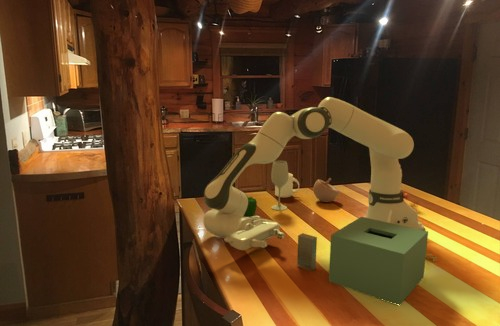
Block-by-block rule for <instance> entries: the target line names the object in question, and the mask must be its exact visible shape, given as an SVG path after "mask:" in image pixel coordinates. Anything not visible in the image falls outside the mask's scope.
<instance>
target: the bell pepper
mask: <svg viewBox="0 0 500 326" xmlns="http://www.w3.org/2000/svg"><path fill="white" fill-rule="evenodd" d="M247 197H248V207H247V210H246V212H245V214H244V216H243V217H251V216H256V215H255V214H256V210H257V204H258V203H257V200H256V198H254V197H253V196H247Z"/></svg>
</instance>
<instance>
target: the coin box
mask: <svg viewBox="0 0 500 326" xmlns="http://www.w3.org/2000/svg"><path fill="white" fill-rule="evenodd" d="M428 238H429V231H427V230H419V229H414V228H410V227H406V226H401V225H397V224H392V223H388V222H383V221H379V220H374V219H370V218H366V216H365V217H364V216H360V217H358V218H356V219H355V220H353V221H352V222H350V223H348V224H347V225H345V226H343V227H342V228H340V229H338V230H336V231H334V232H333V233H332V234H331V235H330V245H329V246H330V249H329V265H328V266H329V270H328V271H329V272H328V282H330V283H333V284H335V285H338V286H341V287H344V288H347V289H349V290H352V291H355V292H358V293H360V294H361V293H362V294H364V295H366V294H367V296H369V295H370V297H372V296H374V297H373V298H375V297H376V298H375V299H378V298H379V299H378V300H381V299H383V300H382V301H384V300H385V301H384V302H387V301H389V302H392V303H396V304H399V305H400V304H401V303H402V302H403V303H404V302H405V300H406V299H407V298H408V297H409V296H410V294H411V293H412V292H413V291H414V289H415V288H416V287H417V286H418V285H419V284H420V282H422V280H423V279H424V277H425V267H426V259H427V257H426V254H427V246H428ZM422 278H423V279H422ZM421 279H422V280H421ZM417 284H418V285H417ZM416 285H417V286H416ZM412 290H413V291H412ZM411 291H412V292H411ZM407 296H408V297H407ZM406 297H407V298H406ZM405 298H406V299H405ZM404 299H405V300H404ZM389 302H388V303H389ZM392 303H391V304H392ZM403 303H402V304H403ZM402 304H401V305H402ZM401 305H400V306H401Z"/></svg>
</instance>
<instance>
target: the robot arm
mask: <svg viewBox="0 0 500 326" xmlns="http://www.w3.org/2000/svg"><path fill="white" fill-rule="evenodd" d="M328 128H329V129H332V130H334V131H336V132H338V133H339V134H342V135H343V136H345V137H346V138H347V137H348V138H350V139H352V140H353V141H354V142H357V143H359V144H361V145H363V146H365V147H368V150H369V157H370V159H369V160H370V167H371V168H370V169H371V172H370V173H371V175H370V188H369V190H368V196H367V198H368V202H367V203H368V207H367V212H366V216H365V218H370V219H374V220H379V221H383V222H388V223H392V224H397V225H401V226H406V227H410V228H414V229H419V230H423V231H425V230H424V229H425V226H424V224H423V223H422V222H421V221H419V215H418V212H417V211H416V209H414V207H412V206H411V205H410V204H408V203H407V202H406V201H405V200H409V199H410V196H411V195H410V194H408V193H406V192H405V193H404V192H402V191H401V189H402V188H401V186H402V179H401V176H402V177H403V171H402V172H401V170H402V168H401V167H400V166H399V164H400V162H399V159H405V158H407V157H409V156H410V155H411V153H412V152H413V150H414V146H415V144H414V140H413V137H412V136H411V135H410V134H409V133H408V132H406V131H405V130H403V129H402V128H399V127H397V126H395V125H393V124H391V123H389V122H387V121H385V120H383V119H380V118H379V117H377V116H374V115H372V114H370V113H368V112H367V111H364V110H361V108H358V107H357V106H355V105H353V104H351V103H349V102H346V101H344V100H341V99H339V98H335V97H331V96H327V97H325V98H324V99H322V100H321V101H320V102H319V104H318V105H317V106H311V107H307V108H302V109H300V110H298V111H296V112H294V113H293V114H290V115H289V114H287V113H286V112H282V111H276V112H273V113H272V114H271V115H270V116H269V117H268V118H267V119H266V121H265V122H264V123H263V124H262V126H261V127H260V129H259V130H258V132H257V133H256V135H255V136H254V137H253V138H252V140H250V141H249V142H247V143H245V144H243V145H241V146H240V147H239V149H238V150H237V151H236V152H235V153H234V155H233V156H232V157H231V158H230V160H229V161H227V163H226V164H225V165H224V166H223V168H222V169H221V170H220V171H219V173H218V174H217V175H216V176H215V177H214V178H213V179H211V180H210V182H209V183H207V185H206V186H205V188H204V190H203V200H204V204H206V206H207V207H208V208H211V209H209V210H208V211H206V212H205V214H204V216H203V226H204V229H206V230H207V232H208V233H210V234H212V235H214V236H216V237H219V238H222V239H223V240H224V242H226V243H228V244H229V246H230V247H233V248H234V249H237V250H239V251H246V250H249V249H251V248H262V249H265V248H266V247H268V242H267V240H268V239H271V238H273V237H276V238H277V239H280V240H282V239H284V238H285V233H284V232H282V231H280V228H281V227H280V226H281V225H280V224H279V223H278V222H277V221H274V220H270V219H268V218H267V219H266V218H261V216H259V215H254V216H251V217H243V216H244V214H245V212H246V210H247V207H248V197H249V196H248V195H247V194H246V193H245V192H243V191H241V190H240V189H239V188H236V187H234V186H233V185H234V183H235V182H236V180H238V178H239V177H240V175H241V174H242V173H243V172H244V170H245V169H246V168H247V167H248V166H251V165H254V164H255V165H256V164H261V165H266V164H271V163H273V162H274V161H277V159H278V158H279V157H280V155H281V154H282V152H283V150H284V149H285V147H286V146H287V144H288V142H289V141H290V140H291V139H292V138H295V139H299V140H300V139H301V140H312V139H314V138H315V139H316V138H318V137H319V136H321V135H322V134H324V133H325V132H326V130H327V129H328ZM400 168H401V169H400ZM400 188H401V189H400Z"/></svg>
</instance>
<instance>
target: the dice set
mask: <svg viewBox="0 0 500 326" xmlns="http://www.w3.org/2000/svg"><path fill="white" fill-rule="evenodd" d="M426 256H427V257H426V259H427V258H431V259H430V261H431V260H432V261H431V262H436V261H437V256H436V255H433V254H431V253H426ZM435 260H436V261H435Z"/></svg>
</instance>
